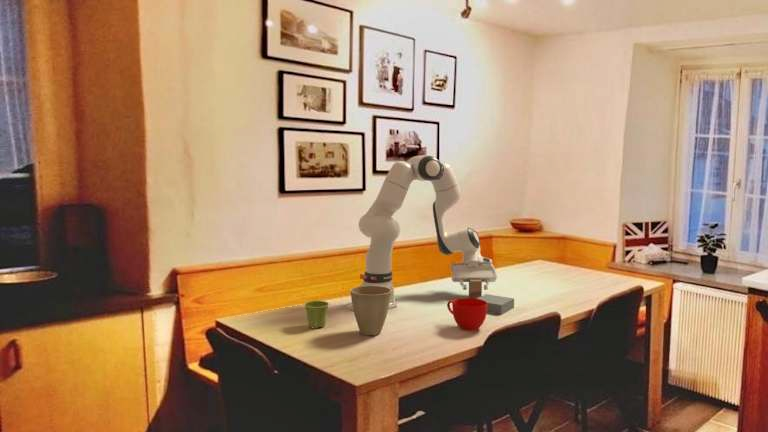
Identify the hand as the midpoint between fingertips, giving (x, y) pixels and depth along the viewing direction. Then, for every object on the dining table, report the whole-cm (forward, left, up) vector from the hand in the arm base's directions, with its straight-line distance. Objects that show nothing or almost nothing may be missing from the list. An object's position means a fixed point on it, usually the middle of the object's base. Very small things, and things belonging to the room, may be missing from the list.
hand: (475, 289), depth 253 cm
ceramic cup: (-38, -15, -5) cm, 42 cm away
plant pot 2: (-64, +10, -5) cm, 65 cm away
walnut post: (+1, 0, -5) cm, 5 cm away
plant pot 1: (-70, +31, -5) cm, 77 cm away
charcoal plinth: (-8, -13, -5) cm, 16 cm away
